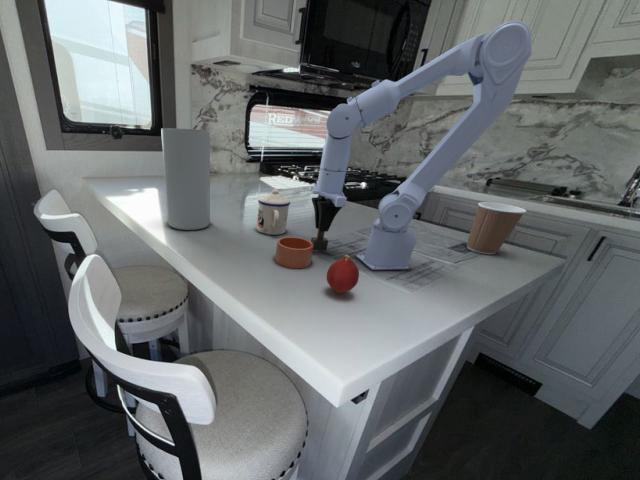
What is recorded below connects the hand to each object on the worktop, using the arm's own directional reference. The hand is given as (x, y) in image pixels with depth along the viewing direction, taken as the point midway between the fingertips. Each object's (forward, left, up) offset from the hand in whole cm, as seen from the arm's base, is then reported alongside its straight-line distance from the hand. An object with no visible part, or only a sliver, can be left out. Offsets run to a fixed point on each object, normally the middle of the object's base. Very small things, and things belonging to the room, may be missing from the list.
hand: (321, 229), depth 74 cm
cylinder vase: (+32, -23, -6) cm, 40 cm away
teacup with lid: (+8, -16, -6) cm, 19 cm away
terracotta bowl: (+8, +5, -6) cm, 11 cm away
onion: (+3, +20, -6) cm, 22 cm away
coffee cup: (-49, -1, -6) cm, 49 cm away
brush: (0, 0, -5) cm, 5 cm away
